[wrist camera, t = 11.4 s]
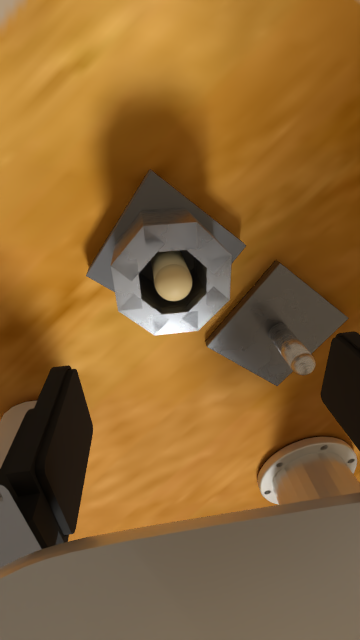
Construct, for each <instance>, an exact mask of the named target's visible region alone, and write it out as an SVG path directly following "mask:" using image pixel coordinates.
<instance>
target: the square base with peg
mask: <svg viewBox="0 0 360 640" xmlns="http://www.w3.org/2000/svg"><path fill="white" fill-rule="evenodd" d="M183 207H184V208H185V209H186V210H187V211H189V212H190V213H191V214H192V215H193V216H194V217H195V218H196V219H197V220H198V221H199V222H200V223H201V224H202V225H203V226H204V227H205V228H206V229H207V230H208V231H209V232H210V233H211V234H212V235H214V237H215V238H216V239H217V240H218V241H219V242H220V243H221V244H222V245H223V246H224V248H225V249H226V250H227V251H228V252H229V253H230V254H231V255H232V259H231V264H232V263H233V261H234V260H235V259H236V258H237V256H238V255H239V254H240V253H241V251H242V250H243V249H244V248H245V247H246V245H245V244H244V243H243V242H242V241H240V240H239V239H238V238H237V237H235V236H234V235H233V234H232V233H230V232H229V231H228V230H227V229H225V228H224V227H223V226H222V225H220V224H219V223H218V222H216V221H215V220H214V219H213V218H211V217H210V216H209V215H208V214H206V213H205V212H204V211H202V210H201V209H200V208H199V207H197V206H196V205H195V204H194V203H192V202H191V201H190V200H188V199H187V198H186V197H185V196H183V195H182V194H181V193H180V192H178V191H177V190H176V189H175V188H173V187H172V186H171V185H169V184H168V183H167V182H166V181H164V180H163V179H162V178H161V177H159V176H158V175H157V174H155V173H154V172H153V171H152V170H149V171H148V173H147V175H146V176H145V178H144V180H143V181H142V183H141V184H140V186H139V188H138V189H137V191H136V193H135V194H134V196H133V197H132V199H131V201H130V202H129V204H128V206H127V207H126V209H125V210H124V212H123V214H122V215H121V217H120V219H119V220H118V222H117V223H116V225H115V227H114V228H113V230H112V232H111V233H110V235H109V236H108V238H107V240H106V241H105V243H104V245H103V246H102V248H101V249H100V251H99V253H98V254H97V256H96V258H95V259H94V261H93V262H92V264H91V266H90V267H89V269H88V272H87V275H86V276H87V277H89V278H91V279H93V280H94V281H96V282H98V283H100V284H101V285H103V286H105V287H107V288H108V289H110V290H112V291H114V292H115V288H114V282H113V276H112V270H111V262H112V257H113V252H114V247H115V243H116V242H117V240H118V239H119V238H120V237H121V235H122V234H123V233H124V232H125V230H126V229H127V228H128V227H129V225H130V224H131V223H132V222H133V220H134V219H135V218H136V217H137V215H138V214H139V213H140V212H141V210H154V209H168V208H183ZM193 268H194V256H193V255H192V254H191V253H190V252H188V251H187V250H177V251H165V252H157V253H156V254H155V255H154V256H153V257H152V259H151V260H150V261H149V262H148V263H147V264H146V265H145V267H144V268H143V269H142V270H141V271H140V272H141V273H142V274H143V275H145V276H146V277H147V278H148V279H150V280H151V281H152V282H154V284H155V288H156V291H157V292H158V294H159V295H160V296H161V297H162V298H164V299H166V300H169V301H178V300H181V299H183V298H184V297H186V296H187V295H188V294H189V292H190V290H191V287H192V277H191V274H190V271H191V270H192V269H193Z"/></svg>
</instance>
